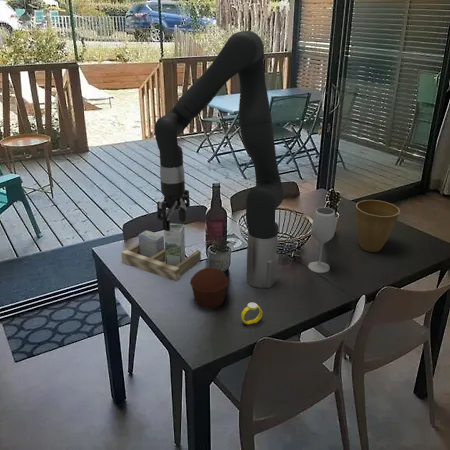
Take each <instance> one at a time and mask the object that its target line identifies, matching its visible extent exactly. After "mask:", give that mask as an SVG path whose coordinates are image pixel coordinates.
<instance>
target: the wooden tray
mask: <svg viewBox="0 0 450 450" xmlns="http://www.w3.org/2000/svg"><path fill="white" fill-rule="evenodd" d="M120 254H121V263H123V264H126V265H129V266H131V267H135V268H138V269H140V270H143V271H145V272H149V273H152V274H154V275H156V276H159V277H162V278H166V279H169V280H172V281H173V282H177V281H179V280H180V278H181V277H182V276H183V275H184V274H186V273H187V272H188V271H190V270H191V269H193V268H194V267H195V266H196V265H198V264H199V263H200V262H201V261H202V260H201V259H202V257H201V250H199V249H198V250H195V251H194V252H193V253H191V254H190V255H189V256H187V257H185V260H183V261H182V262H180V263H179V264H178V265H176V266H172V265H169V264H166V260H165V248H164V249H163V250H162V251H160V252H159V253H157V254H155V255H154V256H152V257H151V258H149V257H146V256H143V255H140V249H139V242H137V243H136V244H134V245H132V246H131V247H129V248H128V249H124V250H123V251H121V253H120ZM200 260H201V261H200ZM199 261H200V262H199ZM198 262H199V263H198ZM197 263H198V264H197ZM193 266H194V267H193ZM189 269H190V270H189Z"/></svg>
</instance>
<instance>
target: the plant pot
mask: <svg viewBox="0 0 450 450" xmlns="http://www.w3.org/2000/svg"><path fill="white" fill-rule="evenodd" d="M400 212H401V210H400V208H399V207H397V206H396V205H394V204H393V203H389V202H387V201H384V200H383V201H382V200H376V199H364V200H360V201H358V202H357V203H356V205H355V221H356V222H355V223H356V224H355V225H356V232H357V238H358V243H359V246H360V248H361V249H362V250H363V251H366V252H370V253H377V252H380V251H382V249H383V247H384V246H385V244H386V242H387V241H388V239H389V237H390V236H391V234H392V233H393V232H392V231H393V230H394V227H395V225H396V222H397V220H398V217H399V215H400Z"/></svg>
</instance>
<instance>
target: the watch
mask: <svg viewBox="0 0 450 450" xmlns="http://www.w3.org/2000/svg"><path fill="white" fill-rule="evenodd" d="M257 309H258V310H259V311H258V312H259V313H258V314H257V316H256V317H255V318H254V319H250V320H245V317H246V316H245V315H246V314H247V312H248V311H249V310H250V311H256V310H257ZM240 316H241V317H240V318H241V320H242V322H243V323H244V324H245V325H252V324H257V323H258V322H259V321H260V320H261V319H262V316H263V310H262V308H261V307H260V306H259V305H258V304H257V303H256V302H253V301H251V302H249V303H247V306H246V307H244V308H243V310H242V311H241V315H240Z"/></svg>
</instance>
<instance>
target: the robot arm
mask: <svg viewBox="0 0 450 450" xmlns="http://www.w3.org/2000/svg"><path fill="white" fill-rule="evenodd" d="M265 70H266V69H265V48H264V42H263V40H262V38H261V37H260V35H258V33H256V32H255V31H252V30H243V31H242V30H241V31H237V32H235V33H233V34H232V35H230V37H229V38H228V39H227V41H226V42H225V44H224V46H222V48H221V50H220V52H219V53H218V54H217V56H216V57H215V58H214V60H213V61H212V62H211V64H210V65H209V67H208V68H207V69H206V70H205V71H204V72H203V73H202V75H200V76H199V77H198V79H197V80H196V81H195V82H193V84H191V86H190V87H189V88H188V89H187V90H186V91H185V92H184V93H183V94H182V95H181V96H179V98H178V100H177V101H176V103H175V106H174V107H173V108H171V110H169V111H168V112H167V113H166V114H164V115H163V116H161V117H159V118H158V119H157V120H156V121H155V125H154V136H155V137H154V138H155V140H156V145H157V149H158V151H159V161H160V162H159V165H160V168H159V178H160V179H159V180H160V192H161V194H162V195H163V201H159V200H158V201H157V202H156V214H157V215H156V216H157V220H158V221H162V229H163V231H164V230H165V231H169V230H170V224H171V220H170V219H171V216H172V215H173V214H174V211H175V210H177V209H179V210H178V220H179V221H180V222H183V223H184V222H186V221H187V220H186V219H187V217H186V215H187V214H186V213H187V210H188V208H189V207H190V206H191V204H190V191H189V190H187V189H186V183H185V182H186V179H185V167H184V155H183V153H184V152H183V149H182V147H181V146H180V145H179V143H178V136H180V135H181V133H183V132H184V131H185V129H186V128H187V127H188V126H189V125H190V124H191V123H192V121H193V120H194V119H195V118H197V117H198V115H199V114H201V113H202V111H204V110H205V108H206V107H207V106H208V105H209V104H210V103H211V102H212V101H213V99H214V98H215V97H216V95H217V94H218V93H219V92H220V90H221V89H222V88H223V87H224V85H225V84H227V82H228V81H229V80H231V79H232V78H233V77H234V76H235V75H237V74H238V79H239V88H240V89H239V103H238V122H239V123H238V124H239V129H240V136H241V140H242V143H243V146H244V148H245V150H246V153H247V154H248V156H249V158H250V159H251V161H252V164H253V168H254V174H255V186H253V187H252V188H251V189H249V191H248V193H247V196H246V199H245V222H246V225H247V245H246V246H247V249H246V251H247V253H246V273H245V276H246V277H245V278H246V279H245V280H246V282H247V284H248V285H250V286H251V287H255V288H261V289H262V288H263V289H264V288H266V289H270V288H271V287H272V286H273V285H275V284H276V282H277V281H278V276H279V275H278V274H279V273H278V272H279V264H280V263H279V260H280V254H278V253H277V252H278V239H279V225H278V223H277V222H276V210H277V209H278V208H279V207H280V205H282V202H283V200H284V188H283V184H282V183H283V182H282V180H281V176H280V171H279V166H278V161H277V152H276V145H275V143H276V142H275V136H274V135H275V132H274V126H273V120H272V112H271V106H270V100H269V96H268V95H269V94H268V89H267V86H266V85H267V84H266V74H265V73H266V71H265Z"/></svg>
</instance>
